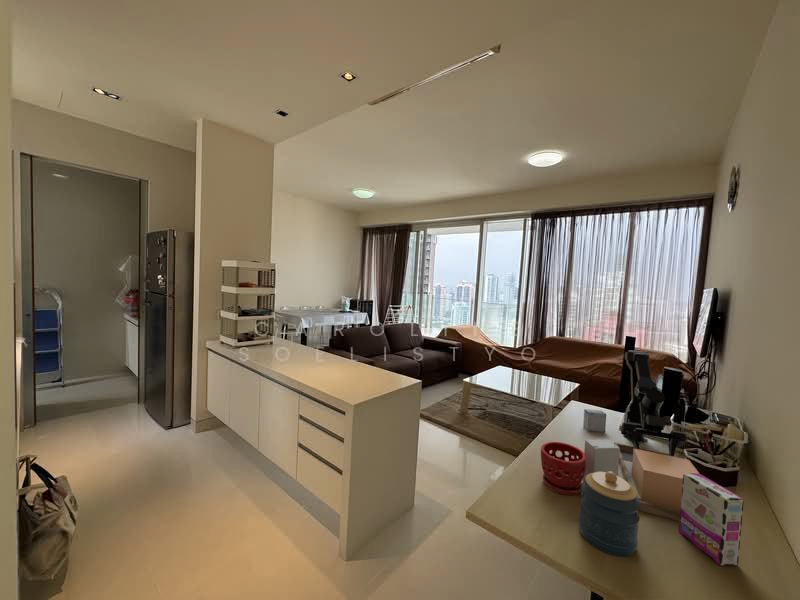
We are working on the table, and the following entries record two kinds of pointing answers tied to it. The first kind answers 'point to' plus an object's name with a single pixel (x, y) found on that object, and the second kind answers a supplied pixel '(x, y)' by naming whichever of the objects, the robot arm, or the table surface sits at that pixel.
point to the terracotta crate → (660, 477)
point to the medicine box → (594, 420)
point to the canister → (609, 513)
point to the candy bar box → (711, 518)
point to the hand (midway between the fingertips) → (655, 457)
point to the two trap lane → (627, 455)
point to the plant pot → (563, 467)
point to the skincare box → (601, 457)
